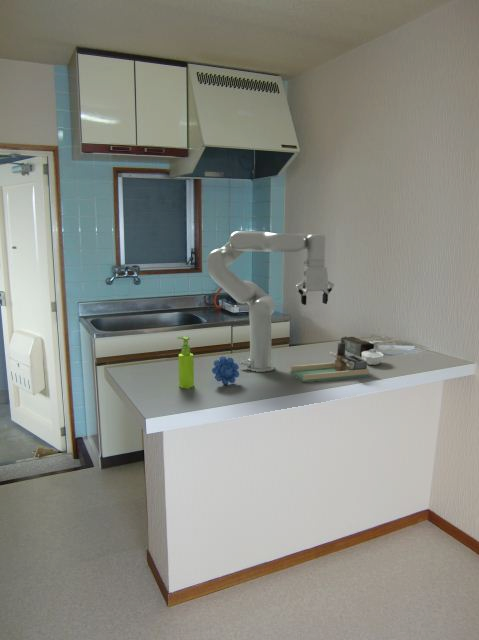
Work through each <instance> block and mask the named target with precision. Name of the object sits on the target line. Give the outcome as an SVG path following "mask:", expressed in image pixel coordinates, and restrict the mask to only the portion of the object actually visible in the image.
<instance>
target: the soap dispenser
mask: <svg viewBox="0 0 479 640" xmlns="http://www.w3.org/2000/svg"><path fill="white" fill-rule="evenodd" d="M176 339H177V340H183V344H182V345H181V353H178V387H179V388H180V387H181V389H191V387H192V388H193V386H195V381H194V380H195V379H194V378H195V376H194V372H195V370H194V369H195V368H194V362H195V361H194V354H193V353H191V345H190V344H189V341H190V340H191V338H190V337H188V336H178V337H176Z"/></svg>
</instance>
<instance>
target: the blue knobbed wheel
mask: <svg viewBox="0 0 479 640" xmlns="http://www.w3.org/2000/svg"><path fill="white" fill-rule="evenodd" d="M213 365H214V367H212V369H211V372H212V374H214V379H215V381H217V382H221V383H222V384H223V385H225V386H226V384H227V385H228V384H229V383H231V384H235V383H236V379H237V378H239V377H240V372H239V371H238V370H239V368H240V365H239V363H236V362H235V360H234V358H232V357H228V358H227V357H226V356H223V355H222V356H220V357H219V360H218V359H216V360H214V361H213Z"/></svg>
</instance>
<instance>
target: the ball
mask: <svg viewBox="0 0 479 640" xmlns="http://www.w3.org/2000/svg"><path fill="white" fill-rule="evenodd" d="M351 362H352V361H351ZM352 363H353V365H349V364H347V369H348V370H354V362H352Z"/></svg>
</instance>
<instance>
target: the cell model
mask: <svg viewBox="0 0 479 640" xmlns="http://www.w3.org/2000/svg"><path fill="white" fill-rule="evenodd" d="M361 359H363V360H365V361H367V365H369V366H370V365H371V366H377V365H379V364H380V363H381V362H382V361H383V360H384V354H383V352H381V351H377V350H376V349H375V348H374V349H370V350H369V351H363V352H362V356H361Z"/></svg>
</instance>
